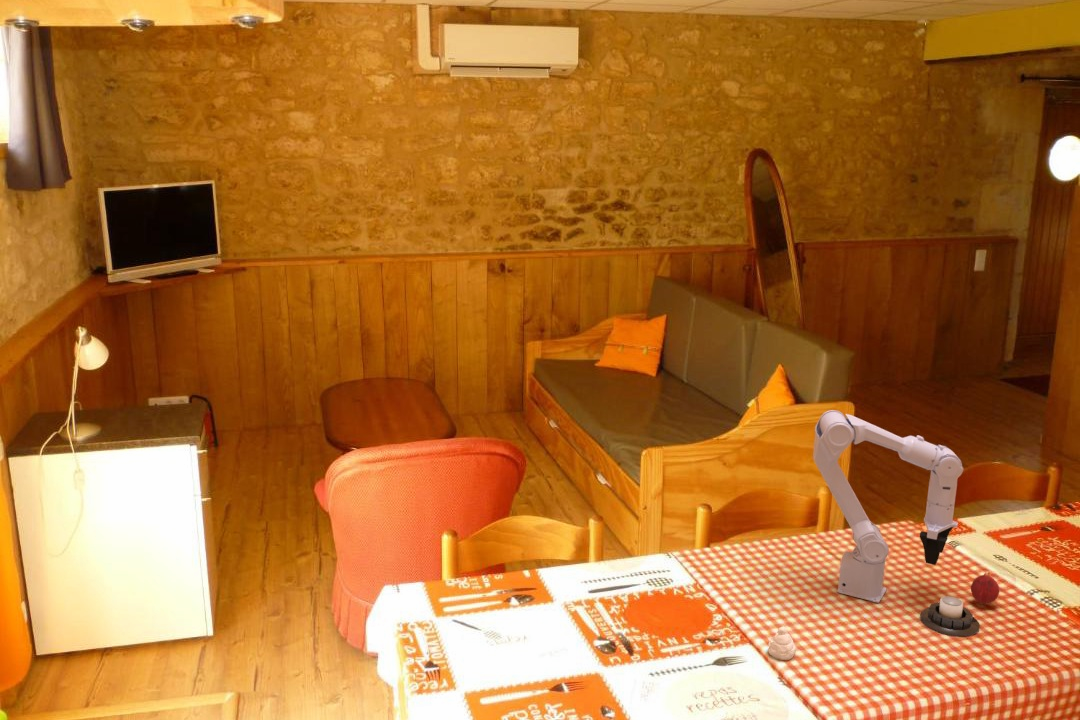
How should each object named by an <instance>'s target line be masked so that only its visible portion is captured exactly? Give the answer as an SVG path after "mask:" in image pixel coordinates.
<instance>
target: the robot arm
mask: <svg viewBox="0 0 1080 720" xmlns="http://www.w3.org/2000/svg"><path fill="white" fill-rule="evenodd" d="M845 415H846V416H845ZM845 415H844V413H842V412H841V411H839V410H834V409H832V410H831V409H829V410H828V411H825V412H823V413H822V414H821V416H820V418H819V419H818V421H817V423H816V425H815V426H814V443H813V454H812V458H813V461H814V463H815V466H816V467H817V469H818V471H819V472H820V474H821V476H822V478H823V480H824V482H825V483H826V485H827V487H828V489H829V490H830V493H831V494H832V496H833V498H834V499H835V502H836V504H837V505H838V507H839V509H840V511H841V512H842V514H843V516H844V518H845V520H846V521H847V523H848V524H849V527H850V529H851V531H852V539H853V542H854V543H855V544H856V545H855V547H854V548H853V550H852V551H848V550H845V551H844V552H843V554H842V557H841V560H840V567H839V574H838V575H839V576H838V586H837V589H836V590H837V591H836V592H837V593H838V594H842V595H847V596H849V597H853V598H858V599H862V600H866V601H868V602H873V603H877V604H879V603H880V602H881V600H882V598H883V597H884V595H885V594H886V591H887V587H885V586H884V585H883V583H884V576H885V565H886V559H887V558H888V556H889V552H890V548H889V545H888V543H887V541H886V540H885V539H884V537H883V535H882V533H881V530H880V528H879V527H878V526H877V525H876V524H875V523H873V522H872V521H871V520H870V519H869V517H868V515H867V514H866V511H865V510H864V508H863V506H862V504H861V502H860V501H859V499H858V496H857V495H856V493H855V492H854V490H853V488H852V486H851V484H850V482H849V481H848V478H847V476H846V475H845V473H844V472H843V469H842V468H841V466H840V464H839V462H838V461H839V458H840V456H841V454H842V453H843V452H844V451H845V450H846V449H847V448H849V446H850V445H851V444H852V443H853V444H854V445H858V444H860V443H862V442H864V441H866V442H869V443H872V444H875V445H878V446H881V447H884V448H885V449H890V450H892V451H894V452H897V454H898V457H899V458H900V459H901V460H903V461H905V462H907V463H909V464H912V465H915V466H917V467H920V468H922V469H925V470H926V471H930V476H929V477H930V478H929V482H928V491H927V497H926V508H925V516H924V517H923V522H924V524H925V526H926V528H927V531H923V530H922V531H920V532H919V539H920V541H921V543H922V547H923V551H924V559H925V564H928V565H933V566H936V564H937V563H938V561H939V557H940V553H943V551H944V549H945V546H946V543H947V540H948V538H949V535H950V532H951V531H952V530H953V529H954V528H958V526H959V522H958V521H954V519H953V518H954V513H955V503H956V495H957V487H958V478H959V477H961V475H962V474H963V472H964V467H963V462H962V460H961V459H960V458H959V457H958V456H957V454H955V453H956V452H954V451H953V450H952V449H950V448H949V447H947V446H946V445H941V444H938V445H937V444H934V443H931V442H928V441H926V440H925V438H924V436H921V435H916V436H914V435H908V436H904V437H901V436H899V435H896V434H894V433H893V432H890V431H888V430H886V429H883V428H881V427H879V426H877V425H875V424H872V423H870V422H868V421H865V420H863V419H861V418H859V417H856V416H854V415H852V414H848V413H845Z"/></svg>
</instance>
